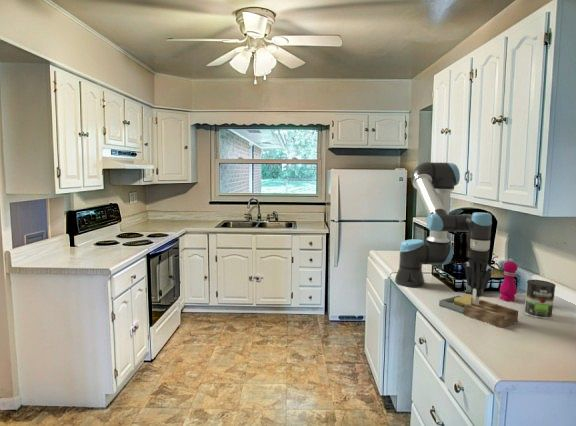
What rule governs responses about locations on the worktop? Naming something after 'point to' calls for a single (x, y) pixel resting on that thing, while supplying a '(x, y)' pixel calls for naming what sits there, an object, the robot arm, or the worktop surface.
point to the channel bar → (492, 313)
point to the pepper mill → (509, 281)
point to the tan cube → (458, 302)
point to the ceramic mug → (468, 289)
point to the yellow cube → (467, 299)
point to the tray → (451, 304)
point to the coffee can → (539, 299)
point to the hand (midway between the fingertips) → (475, 303)
